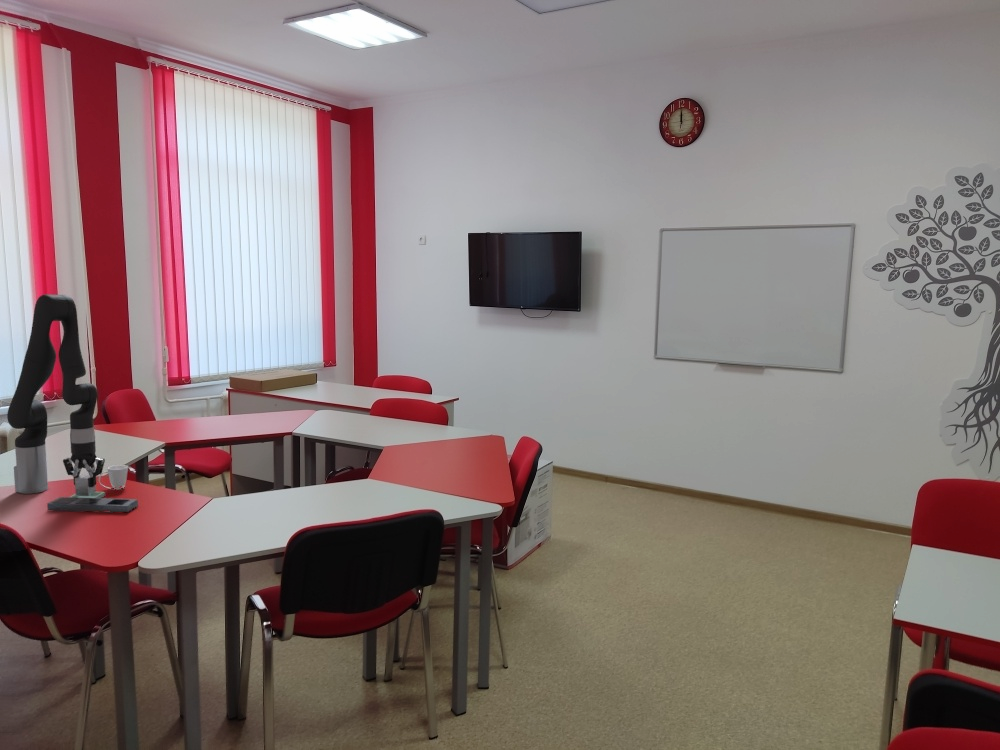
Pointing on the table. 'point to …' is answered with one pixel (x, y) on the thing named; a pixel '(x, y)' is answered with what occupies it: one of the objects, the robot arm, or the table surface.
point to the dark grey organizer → (92, 504)
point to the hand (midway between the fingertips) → (85, 486)
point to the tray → (94, 495)
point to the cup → (116, 476)
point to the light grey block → (83, 486)
